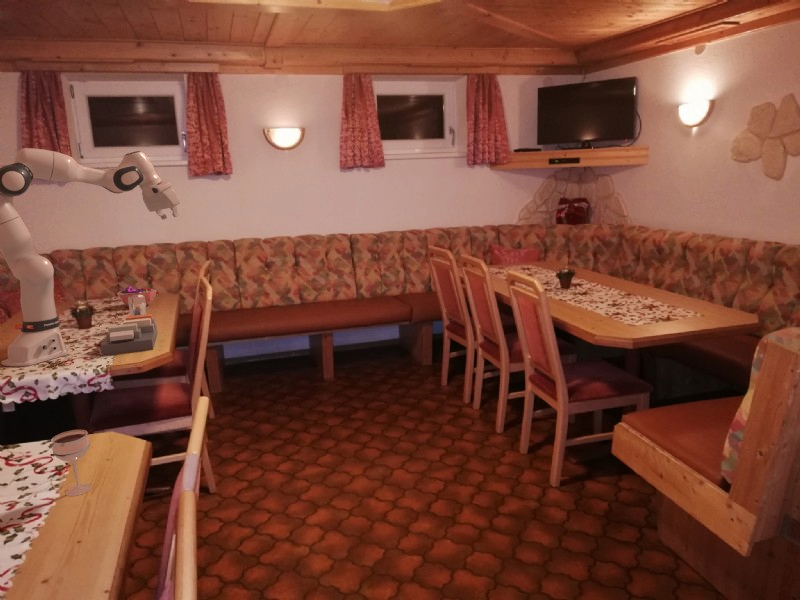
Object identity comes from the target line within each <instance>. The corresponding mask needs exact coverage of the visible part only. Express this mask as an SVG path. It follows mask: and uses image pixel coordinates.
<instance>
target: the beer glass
mask: <svg viewBox="0 0 800 600" xmlns="http://www.w3.org/2000/svg"><path fill="white" fill-rule="evenodd" d="M128 303H129V306H128V309H129V313H130V316H137V315H146V314H147V305H146V302H145V297H144V295H133V296H129V297H128Z"/></svg>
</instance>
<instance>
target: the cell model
mask: <svg viewBox="0 0 800 600" xmlns="http://www.w3.org/2000/svg"><path fill="white" fill-rule="evenodd" d="M116 294H117V296H118V297H119V299H120V301H121V302H122V303H123V304H124V305H126V306H128V307H129V303H128V297H129V296H133V295H144V297H145V302H146V306H147V305H149V304H151V303H152V302H153V301H154V299H155V298H156V295H157V289H155V288H152V287H141V288H134V287H133V285H127V286H126V287H125V289H124V290H120V291H118V292H117V293H116Z"/></svg>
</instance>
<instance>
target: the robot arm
mask: <svg viewBox="0 0 800 600" xmlns="http://www.w3.org/2000/svg"><path fill="white" fill-rule="evenodd" d="M33 179H39V180H44V181H51V182H57V183H74V182H80V183H84V184H89V185H96V186H99V187H101V188H104V189H106V190H107V191H109V192H111V193H113V194H123V193H127V192H131V191H133V190H134V189H136V188H137V187H138V186H139V188H140V190H141V191H142V192H141V196H142V200H143V203H144V205H145V207H146V209H147V210H148V211H149V212H151V213H153V212H155V213H156V214H157V216H159V217H160V219H161V220H165V219H166V220H167V218H168V217H167V214H165V213H164V212H163V210H167V209H170V211H171V212H172V216H173V218H177V217H179V216H180V214H179V212H178V208H177V206H178V205H180V198H179V197H178V194H177V193H176V191H175V190H174V189H173V187H172V184H171V182H170V181H168V180H164V179H161V177H160V176H159V175H158V174H157V172H156V170H155V167H154V165H153V164H152V162H151V160H150V159H149V158H148V156H147V155H146V154H145V153H144V152H143V151H142V150H141V151H140V150H136V151H133V152H128V153H126V154H124V155H123V158H122V160H121V161H120V163H119V164H118V165H117V167H116V168H111V169H106V170H105V169H104V170H103V169H102V170H101V169H97V168H93V167H88V166H85V165H81V164H79V163H78V162H77V161H76V160H75V159H74V158H73V157H72V156H70V155H68V154H65V153H62V152H58V151H54V150H49V149H44V148H43V149H42V148H32V147H25V148H21V149H20V150H18V152H17V153H16V155H15V159H14V162H13V163H11V164H2V165H0V252H1V254H2V256H3V258H4V260H5V262H6V264H7V266H8V268H9V270H10V271H11V273H12V275H13V277H14V278H16V279H17V280H19V284H20V285H19V286H20V299H19V302H20V307H21V314H22V318H23V321H22V324H19V323H16V324H14V326H13V328H14V329H15V330H20V333H19V334H18V335H17V337H16V338H15V339H14V340H13V341H12V342H11V344H9V346H8V347H7V358H5V359H3V360H2V361H1V362H0V363H1V366H5V367H29V366H33V365H36V364H39V363H42V362H47V361H51V360H54V359H57V358H60V357H64V356H67V355H68V348H67V346H66V344H65V341H64V340H63V336H62V333H61V330H60V329H61V328H60V325H61V324H60V318H59V316H58V314H57V309H56V303H55V302H56V301H55V292H54V291H55V281H54V273H55V268H54V266H53V264H52V263H51V261H50V260H49V259H47V257H45V256H42V255H41V254H39V251H38V250H37V247H36V245H35V243H34V241H33V238H32V234H31V233H30V231H29V229H28V228H27V226H26V224H25V223H24V221H23V219H22V217H21V216H20V214H19V213H18V211H17V209H16V207H15V205H14V198H15V197H18V196H22V195H23V194H25V192H26V191H27V190H28V189H29V187H30V184H31V183H32V181H33Z"/></svg>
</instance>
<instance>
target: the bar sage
mask: <svg viewBox="0 0 800 600" xmlns="http://www.w3.org/2000/svg"><path fill="white" fill-rule="evenodd" d="M107 330H108V332H109V335H110V333H112V332H120V331H129V330H133V332H137V331H138V327H137V323H134V324H125V325H123V324H119V325H117V324H116V325H109V326H108V327H107ZM108 332H107V333H108Z"/></svg>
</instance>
